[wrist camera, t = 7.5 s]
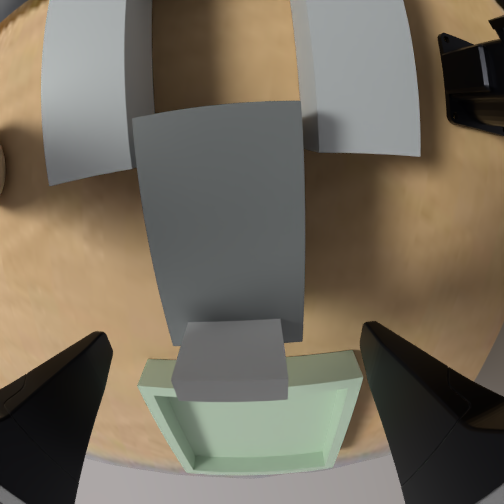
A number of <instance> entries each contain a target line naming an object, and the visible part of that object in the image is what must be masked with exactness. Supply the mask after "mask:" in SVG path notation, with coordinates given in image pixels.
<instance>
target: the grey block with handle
mask: <svg viewBox="0 0 504 504" xmlns="http://www.w3.org/2000/svg"><path fill="white" fill-rule="evenodd" d="M132 124H133V136H134V146H135V156H136V165H137V173H138V180H139V188H140V195H141V201H142V208H143V214H144V220H145V226H146V231H147V237H148V242H149V247H150V252H151V257H152V262H153V267H154V272H155V276H156V281H157V285H158V289H159V294H160V298H161V302H162V306H163V310H164V314H165V318H166V321H167V325H168V329H169V333H170V336H171V340H172V343H173V346H181V347H180V350H179V354H178V357H177V361H176V364H175V367H174V371H173V374H172V378H171V382H172V385H173V387H174V390H175V393H176V395H177V398H178V400H179V401H193V402H255V401H275V400H288V371H287V364H286V356H285V349H284V343H289V342H302V339H303V317H304V286H305V180H304V149H303V128H302V110H301V101H265V102H246V103H233V104H221V105H212V106H203V107H195V108H188V109H181V110H174V111H168V112H162V113H157V114H151V115H146V116H141V117H136V118H132Z"/></svg>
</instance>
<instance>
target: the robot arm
mask: <svg viewBox="0 0 504 504" xmlns="http://www.w3.org/2000/svg"><path fill="white" fill-rule="evenodd" d="M489 23H490V25H491V26H492V28H493V30H494V29H495V31H496V32H497V34H498V36H499V38H500V39H497V40H492V41H488V42H484V43H480V44H476V45H474V44H471V43H469V42H467V41H464V40H462V39H459V38H457V37H454V36H452V35H449V34H446V33H442V34H439V35H438V43H439V48H440V54H441V61H442V68H443V76H444V85H445V96H446V110H447V118H448V120H449V122H450V123H452V124H457V125H462V126H466V127H470V128H474V129H479V130H482V131H486V132H490V133H494V134H497V135H501V136H504V15H502V16H500V17H497V18H494V19H491V20H489ZM444 39H445V40H446V42H445V40H444ZM453 113H454V115H455V119H454V118H453ZM360 349H361V353H362V357H363V361H364V366H365V370H366V375H367V379H368V383H369V386H370V389H371V392H372V395H373V398H374V401H375V404H376V407H377V410H378V412H379V415H380V418H381V421H382V425H383V428H384V431H385V434H386V437H387V440H388V443H389V447H390V450H391V453H392V456H393V460H394V463H395V466H396V470H397V473H398V477H399V480H400V484H401V486H402V487H401V488H402V492H403V496H404V500H405V504H504V397H503V396H501V395H499V394H497V393H495V392H493V391H491V390H489V389H487V388H485V387H483V386H481V385H479V384H477V383H475V382H473V381H472V380H470V379H468V378H466V377H464V376H463V375H461V374H459V373H458V372H456V371H455V370H453V369H451V368H450V367H449V368H448V366H447V365H445V364H443V363H442V362H440V361H439V360H437V359H435V358H434V357H432V356H431V355H429V354H428V353H426V352H424V351H423V350H421V349H420V348H418V347H416V346H415V345H413V344H412V343H410V342H408V341H407V340H405V339H404V338H402V337H400V336H399V335H397V334H396V333H394V332H392V331H391V330H389V329H388V328H386V327H384V326H383V325H381V324H380V323H378V322H376V321H370V322H365V323H364V324H363V327H362V333H361V338H360ZM112 356H113V350H112V347H111V345H110V342H109V340H108V337H107V335H106V334H105V332H99V331H95V332H93V333H91V334H89V335H88V336H86V337H85V338H83V339H81V340H80V341H78V342H76V343H75V344H73V345H72V346H70V347H68V348H67V349H65V350H64V351H62V352H60V353H59V354H57V355H56V356H54V357H52V358H51V359H49V360H48V361H46V362H44V363H43V364H41V365H40V366H38V367H36V368H35V369H33V370H32V371H30V372H28V373H27V374H25V375H24V376H22V377H20V378H19V379H17V380H16V381H14V382H12V383H11V384H9V385H7V386H5V387H3V388H2V389H0V504H75V499H76V494H77V489H78V484H79V479H80V475H81V471H82V466H83V462H84V458H85V455H86V451H87V447H88V443H89V440H90V436H91V432H92V429H93V426H94V422H95V419H96V416H97V412H98V409H99V406H100V403H101V400H102V397H103V393H104V390H105V386H106V382H107V378H108V373H109V369H110V365H111V360H112Z"/></svg>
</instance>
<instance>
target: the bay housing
mask: <svg viewBox="0 0 504 504" xmlns="http://www.w3.org/2000/svg"><path fill="white" fill-rule="evenodd" d="M290 3H291V11H292V19H293V27H294V36H295V46H296V56H297V67H298V79H299V91H300V101H301V110H302V128H303V149H306V150H310V151H314V152H318V153H368V154H389V155H404V156H417V157H420V111H419V96H418V84H417V75H416V66H415V59H414V52H413V46H412V40H411V34H410V29H409V24H408V19H407V15H406V10H405V6H404V2H403V0H290ZM41 108H42V129H43V141H44V151H45V160H46V168H47V175H48V181H49V186H53V185H57V184H61V183H65V182H69V181H74V180H78V179H83V178H87V177H92V176H97V175H102V174H107V173H112V172H117V171H123V170H129V169H133V168H136V167H137V165H136V156H135V146H134V136H133V124H132V118H136V117H141V116H146V115H151V114H155V108H154V92H153V71H152V0H50V1H49V6H48V12H47V19H46V26H45V34H44V43H43V55H42V74H41Z"/></svg>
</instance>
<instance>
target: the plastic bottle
mask: <svg viewBox="0 0 504 504" xmlns="http://www.w3.org/2000/svg"><path fill="white" fill-rule="evenodd" d="M5 174H6V165H5V157H4V152H3V149H2V146H1V144H0V195H1V193H2V190H3V187H4V182H5Z"/></svg>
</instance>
